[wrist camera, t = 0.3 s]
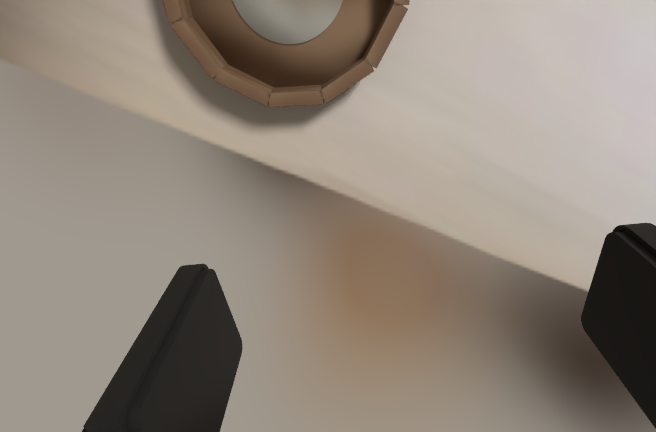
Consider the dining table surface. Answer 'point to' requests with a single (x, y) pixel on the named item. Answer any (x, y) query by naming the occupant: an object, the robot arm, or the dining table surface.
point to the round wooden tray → (287, 44)
